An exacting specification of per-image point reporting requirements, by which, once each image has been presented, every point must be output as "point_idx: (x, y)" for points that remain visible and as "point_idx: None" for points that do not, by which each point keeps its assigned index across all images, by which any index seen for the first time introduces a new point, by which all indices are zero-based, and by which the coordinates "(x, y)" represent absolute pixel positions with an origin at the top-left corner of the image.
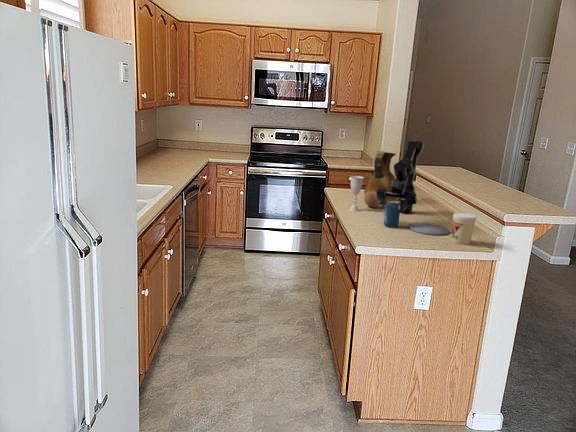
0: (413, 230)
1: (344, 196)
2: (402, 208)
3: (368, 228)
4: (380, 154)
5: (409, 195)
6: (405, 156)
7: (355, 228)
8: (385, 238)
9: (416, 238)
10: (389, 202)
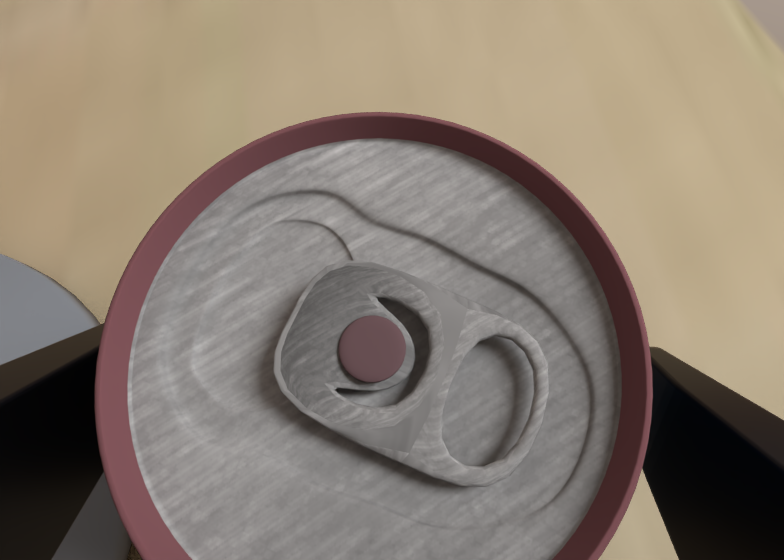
0: (84, 309)
1: None
2: (94, 345)
3: (606, 150)
4: None
5: None
6: None
7: (723, 79)
8: None
9: (78, 60)
10: (495, 144)
